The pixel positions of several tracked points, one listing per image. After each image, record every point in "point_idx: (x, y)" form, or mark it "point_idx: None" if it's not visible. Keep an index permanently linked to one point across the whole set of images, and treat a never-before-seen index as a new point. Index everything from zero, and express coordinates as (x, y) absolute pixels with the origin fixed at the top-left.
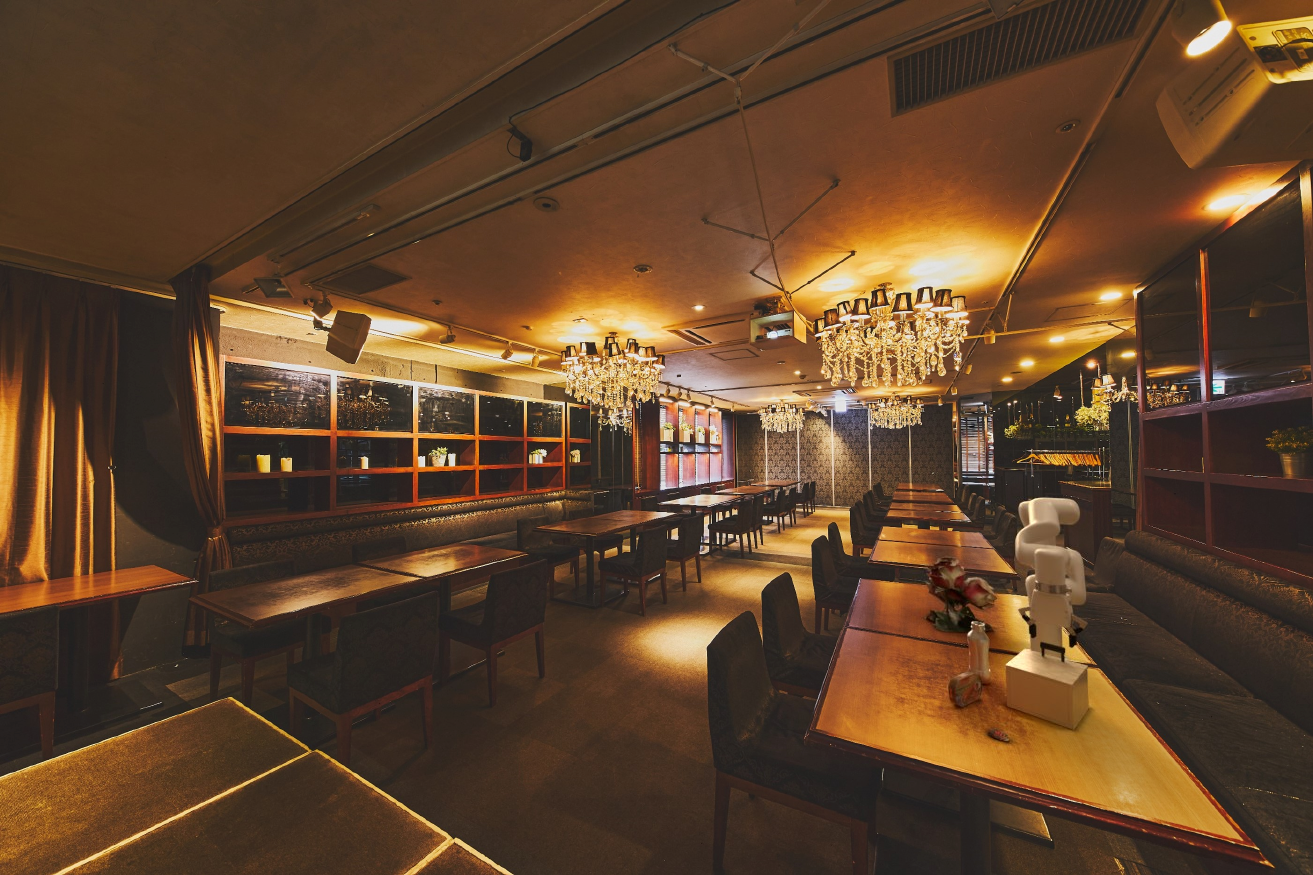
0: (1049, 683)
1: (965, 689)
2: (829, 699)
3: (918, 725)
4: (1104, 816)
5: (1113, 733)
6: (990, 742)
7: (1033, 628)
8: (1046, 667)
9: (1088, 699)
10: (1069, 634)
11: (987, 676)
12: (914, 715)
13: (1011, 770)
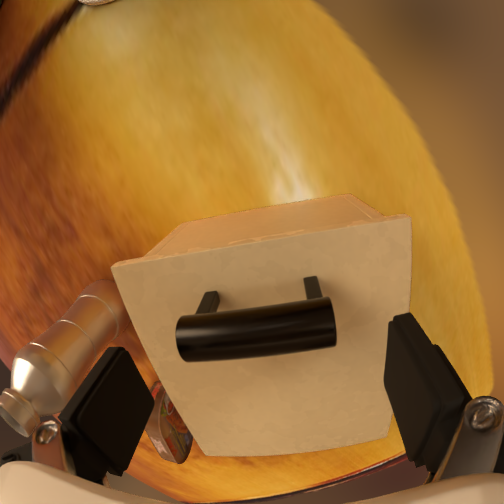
0: None
1: (178, 432)
2: (130, 474)
3: (208, 474)
4: (404, 458)
5: (418, 289)
6: (281, 459)
7: (130, 459)
8: (290, 402)
9: (358, 199)
10: (415, 452)
11: (126, 322)
12: (187, 464)
13: (323, 473)
